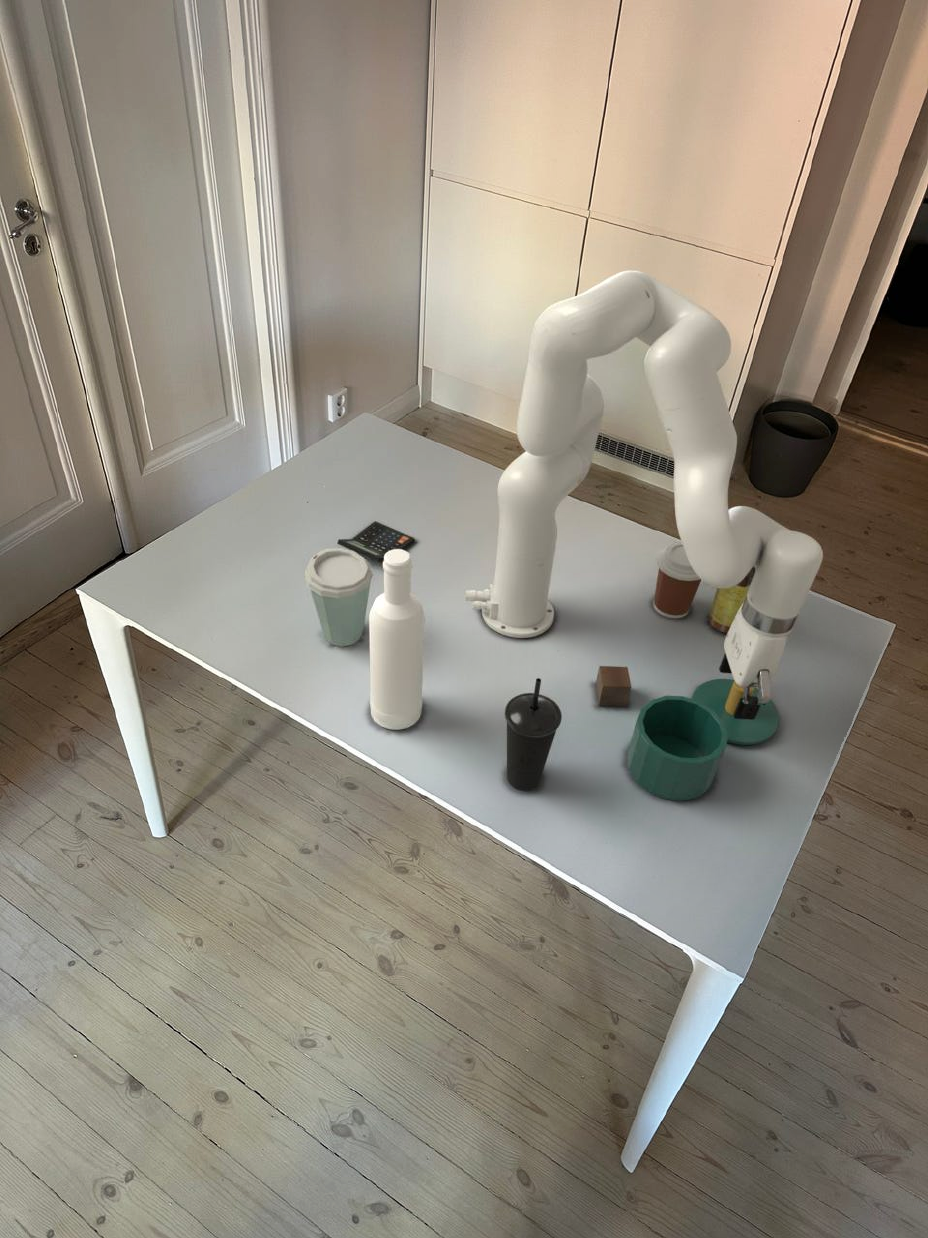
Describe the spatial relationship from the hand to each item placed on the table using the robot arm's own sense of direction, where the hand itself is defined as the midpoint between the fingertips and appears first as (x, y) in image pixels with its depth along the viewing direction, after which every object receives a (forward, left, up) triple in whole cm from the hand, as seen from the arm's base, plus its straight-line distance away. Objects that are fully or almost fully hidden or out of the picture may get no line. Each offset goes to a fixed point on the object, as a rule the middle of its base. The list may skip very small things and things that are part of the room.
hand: (735, 694), depth 136 cm
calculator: (-59, +40, -4) cm, 71 cm away
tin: (-12, -11, -4) cm, 17 cm away
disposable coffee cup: (-63, +15, -4) cm, 64 cm away
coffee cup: (-5, +26, -4) cm, 26 cm away
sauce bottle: (+4, +22, -4) cm, 23 cm away
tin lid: (+1, 0, -4) cm, 4 cm away
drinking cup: (-34, -14, -4) cm, 37 cm away
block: (-19, +3, -4) cm, 19 cm away
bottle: (-53, -2, -4) cm, 53 cm away
